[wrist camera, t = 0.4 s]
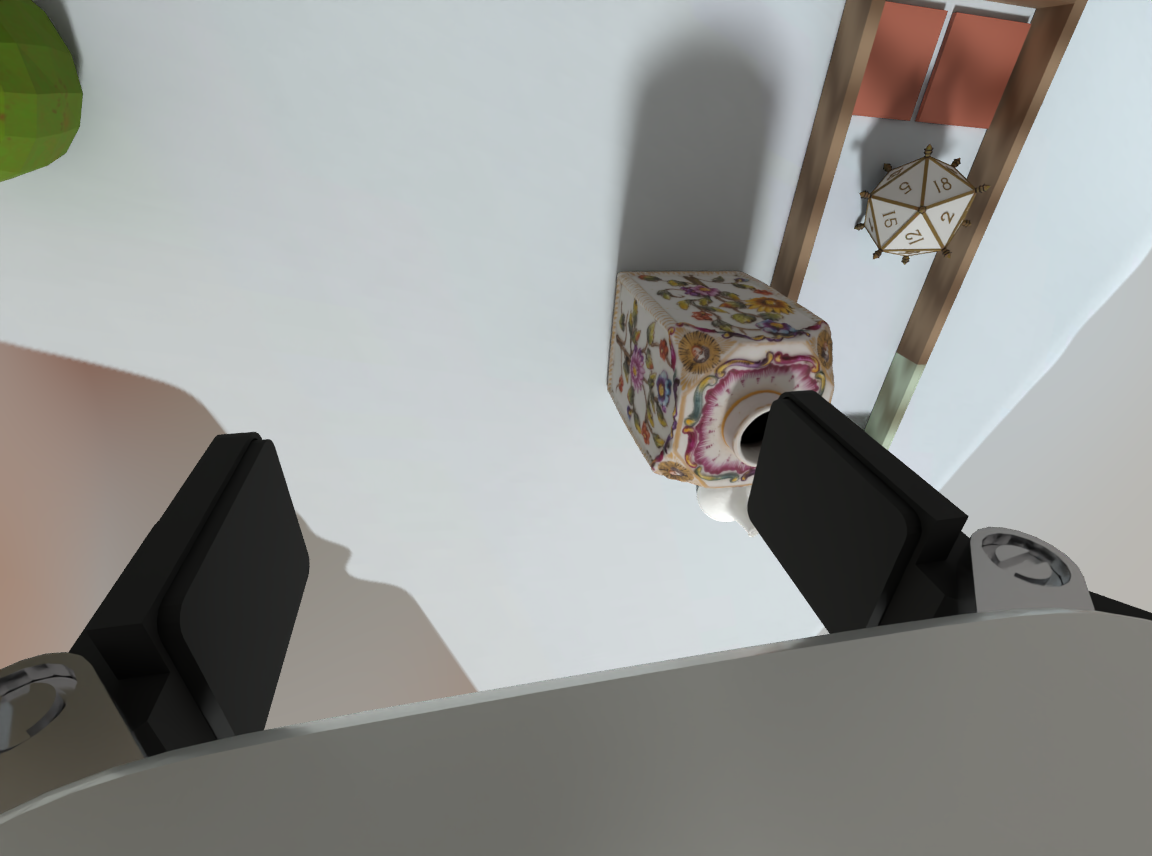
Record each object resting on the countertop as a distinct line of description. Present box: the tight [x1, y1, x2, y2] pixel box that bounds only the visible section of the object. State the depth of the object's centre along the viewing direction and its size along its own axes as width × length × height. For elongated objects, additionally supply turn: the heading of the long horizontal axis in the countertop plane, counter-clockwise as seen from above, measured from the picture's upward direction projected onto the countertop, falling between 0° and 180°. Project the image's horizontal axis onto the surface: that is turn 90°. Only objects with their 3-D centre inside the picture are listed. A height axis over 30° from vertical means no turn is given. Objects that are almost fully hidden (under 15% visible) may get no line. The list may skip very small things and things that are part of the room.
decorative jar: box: [607, 271, 834, 489], centre depth 42 cm, size 12×12×18 cm
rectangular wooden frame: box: [770, 0, 1088, 450], centre depth 48 cm, size 40×17×3 cm, turn 175°
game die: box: [854, 144, 990, 265], centre depth 44 cm, size 9×8×10 cm
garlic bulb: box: [697, 485, 759, 537], centre depth 58 cm, size 6×6×8 cm
